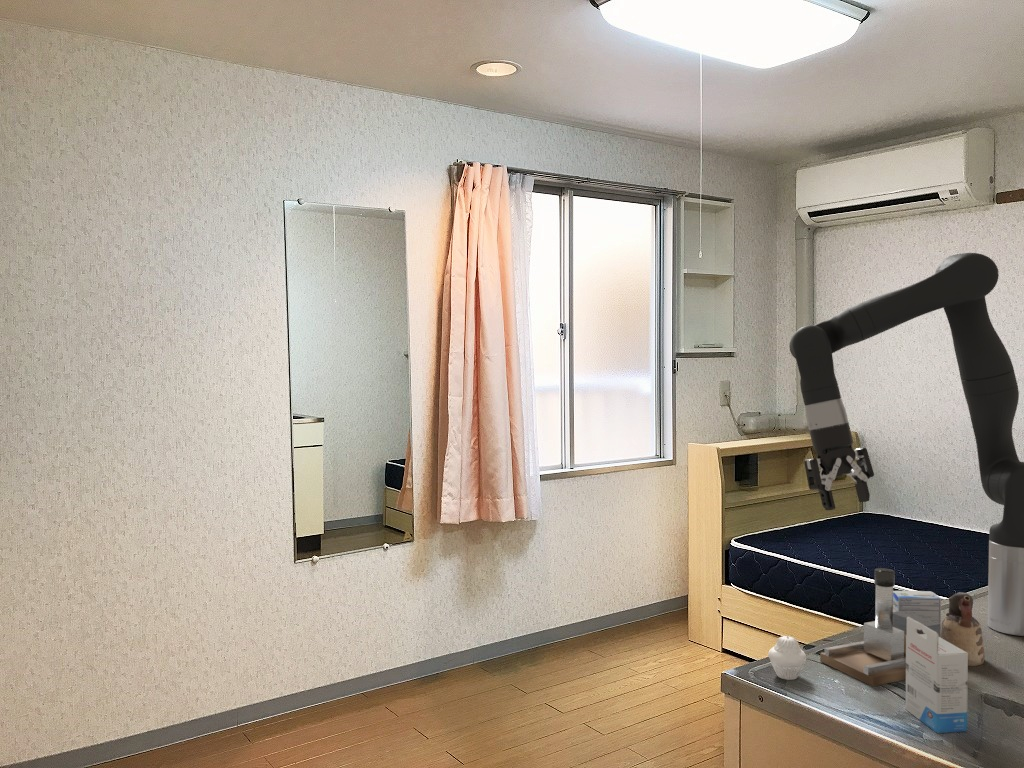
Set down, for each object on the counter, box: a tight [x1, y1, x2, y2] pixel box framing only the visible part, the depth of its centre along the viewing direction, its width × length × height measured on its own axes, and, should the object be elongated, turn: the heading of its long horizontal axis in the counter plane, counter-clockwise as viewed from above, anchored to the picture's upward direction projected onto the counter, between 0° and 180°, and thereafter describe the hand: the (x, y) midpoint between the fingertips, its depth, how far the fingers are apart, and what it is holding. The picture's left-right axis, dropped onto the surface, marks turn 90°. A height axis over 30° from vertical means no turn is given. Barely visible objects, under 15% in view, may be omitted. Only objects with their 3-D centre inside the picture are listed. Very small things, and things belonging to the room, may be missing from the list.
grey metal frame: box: [824, 611, 942, 675], centre depth 146 cm, size 18×10×6 cm, turn 112°
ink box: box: [905, 617, 969, 734], centre depth 124 cm, size 9×5×15 cm, turn 5°
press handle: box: [863, 567, 904, 661], centre depth 145 cm, size 3×6×15 cm, turn 22°
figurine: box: [941, 591, 985, 667], centre depth 149 cm, size 7×7×12 cm
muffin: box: [768, 635, 807, 681], centre depth 141 cm, size 6×6×7 cm
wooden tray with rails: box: [819, 634, 906, 687], centre depth 146 cm, size 18×12×5 cm, turn 112°
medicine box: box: [893, 590, 942, 637], centre depth 159 cm, size 8×4×9 cm, turn 84°
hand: (847, 505), depth 163 cm, fingers open, 8 cm apart
